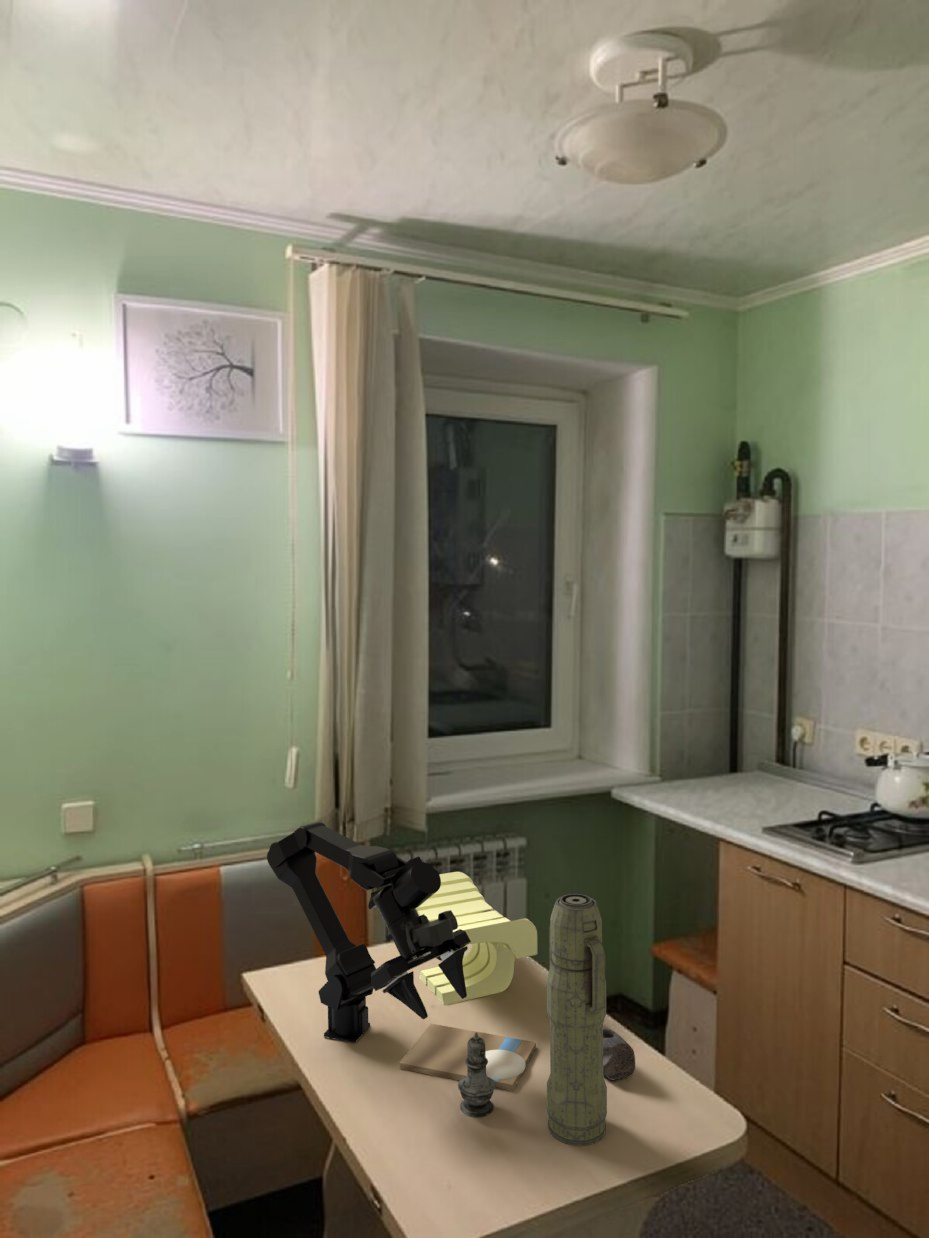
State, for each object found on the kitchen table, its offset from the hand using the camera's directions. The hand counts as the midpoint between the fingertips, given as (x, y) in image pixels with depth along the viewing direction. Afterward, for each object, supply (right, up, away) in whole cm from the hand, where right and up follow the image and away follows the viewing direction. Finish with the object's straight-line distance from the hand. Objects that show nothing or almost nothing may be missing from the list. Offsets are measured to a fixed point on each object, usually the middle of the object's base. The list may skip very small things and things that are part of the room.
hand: (445, 1007), depth 148 cm
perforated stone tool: (+26, -13, +6) cm, 29 cm away
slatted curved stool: (+4, -11, +37) cm, 39 cm away
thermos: (+20, -13, -11) cm, 27 cm away
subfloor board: (+4, -12, +8) cm, 15 cm away
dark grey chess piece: (+5, -13, -6) cm, 15 cm away
